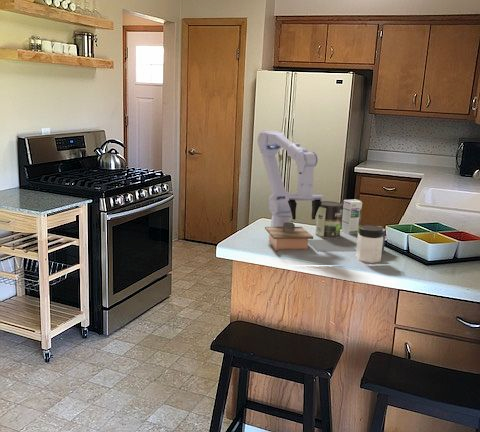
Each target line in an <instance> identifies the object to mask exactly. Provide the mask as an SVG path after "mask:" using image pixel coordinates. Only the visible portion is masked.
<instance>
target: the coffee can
mask: <svg viewBox="0 0 480 432" xmlns="http://www.w3.org/2000/svg"><path fill="white" fill-rule="evenodd" d="M321 202H322V203H321V205H320V207H319V209H318V211H317V213H316V226H315V236H317V237H319V238H322V239H323V238H324V239H338V238H340V236H341V229H342V217H343V204H344V203H340V202H337V201H331V200H330V201H328V200H325V201H321Z"/></svg>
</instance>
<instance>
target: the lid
mask: <svg viewBox="0 0 480 432" xmlns="http://www.w3.org/2000/svg"><path fill="white" fill-rule="evenodd" d="M264 230H266V232H267V233H268V235H269V234H270V235H271V236H272V238H273V239H308V240H314V236H313V235H312V234H311V233H310V232H309V231H307V230H306V229H305V228H304V227H302V226H295V223H293V221H292V222H291V221H290V222H283V227H271V226H264Z"/></svg>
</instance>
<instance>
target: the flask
mask: <svg viewBox="0 0 480 432" xmlns="http://www.w3.org/2000/svg"><path fill="white" fill-rule="evenodd" d="M377 227H380V228H382V229H383V235H382V237H383V245H382V253H383V252H384V251H385V243H386V242H385V241H386V233H387V229H385V228H383V227H384V226H380V225H377Z"/></svg>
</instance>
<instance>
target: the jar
mask: <svg viewBox="0 0 480 432" xmlns="http://www.w3.org/2000/svg"><path fill="white" fill-rule="evenodd" d="M383 229H384V228H382V227H381V228H380V227H378V225H376V226H375V225H371V224H369V225H367V224H365V225H360V228H359V233H357V239H356V240H357V241H356V248H355V249H356V251H355V258H356V259H357V260H358V261H361V262H366V263H370V264H374V263H377V262H381V261H382V260H381V259H382V253H383V252H382V245H383V237H382V235H383Z"/></svg>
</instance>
